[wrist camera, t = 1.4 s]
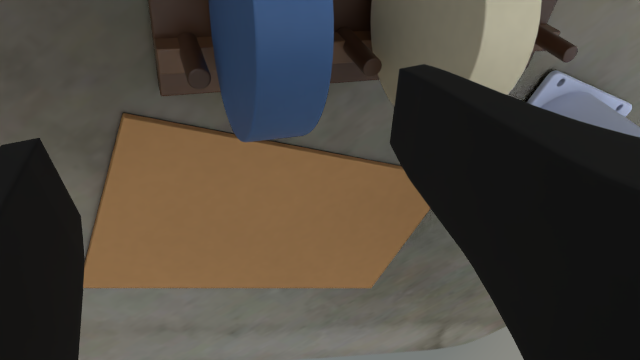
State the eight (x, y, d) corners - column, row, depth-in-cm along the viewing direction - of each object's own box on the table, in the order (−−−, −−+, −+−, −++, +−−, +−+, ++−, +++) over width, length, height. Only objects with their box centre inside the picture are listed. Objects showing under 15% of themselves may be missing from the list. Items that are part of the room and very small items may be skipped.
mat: (449, 174, 30) (452, 179, 29) (369, 284, 35) (371, 288, 35) (122, 112, 19) (123, 117, 19) (79, 282, 24) (79, 288, 24)
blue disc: (266, -130, 14) (353, -74, 9) (260, 72, 19) (317, 180, 14) (201, -136, 14) (260, -79, 9) (211, 75, 18) (253, 189, 13)
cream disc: (440, -115, 16) (584, -64, 12) (397, 63, 21) (488, 154, 16) (392, -119, 16) (522, -67, 11) (358, 66, 20) (440, 161, 15)
